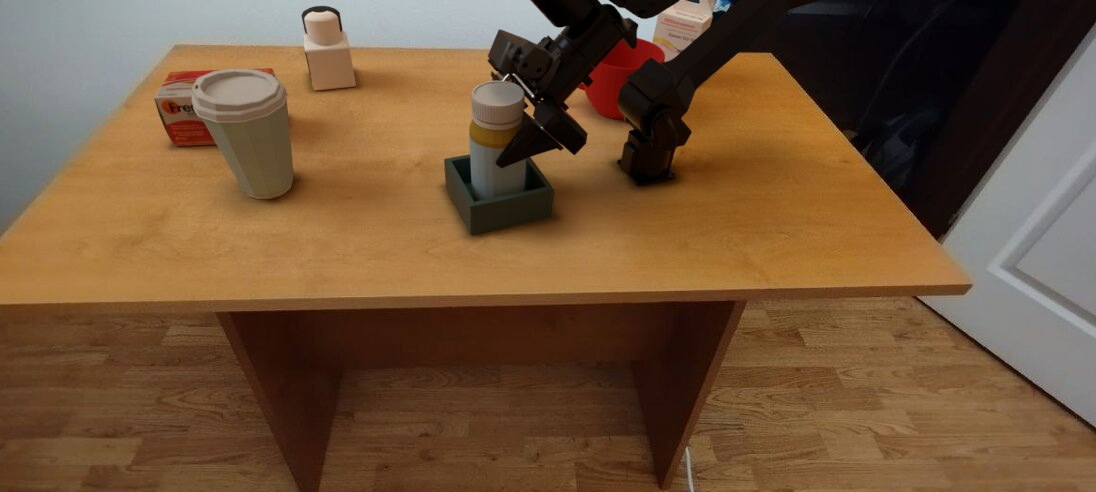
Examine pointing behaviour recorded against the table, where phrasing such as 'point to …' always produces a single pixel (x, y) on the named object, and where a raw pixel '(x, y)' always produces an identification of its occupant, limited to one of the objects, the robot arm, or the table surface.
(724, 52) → the robot arm
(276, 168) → the disposable coffee cup
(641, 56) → the ceramic cup
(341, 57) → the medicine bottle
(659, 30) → the ink cartridge box
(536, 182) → the box
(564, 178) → the table surface
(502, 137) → the bottle
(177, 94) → the medicine box
